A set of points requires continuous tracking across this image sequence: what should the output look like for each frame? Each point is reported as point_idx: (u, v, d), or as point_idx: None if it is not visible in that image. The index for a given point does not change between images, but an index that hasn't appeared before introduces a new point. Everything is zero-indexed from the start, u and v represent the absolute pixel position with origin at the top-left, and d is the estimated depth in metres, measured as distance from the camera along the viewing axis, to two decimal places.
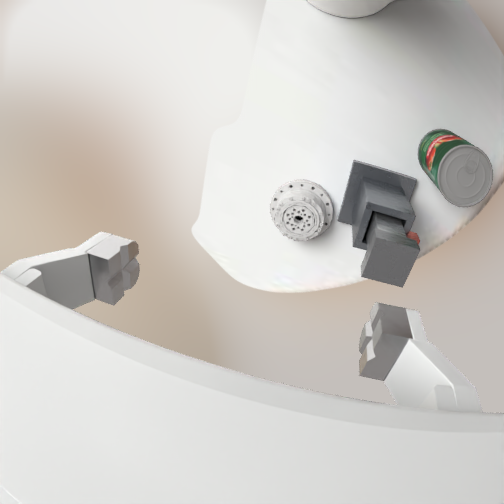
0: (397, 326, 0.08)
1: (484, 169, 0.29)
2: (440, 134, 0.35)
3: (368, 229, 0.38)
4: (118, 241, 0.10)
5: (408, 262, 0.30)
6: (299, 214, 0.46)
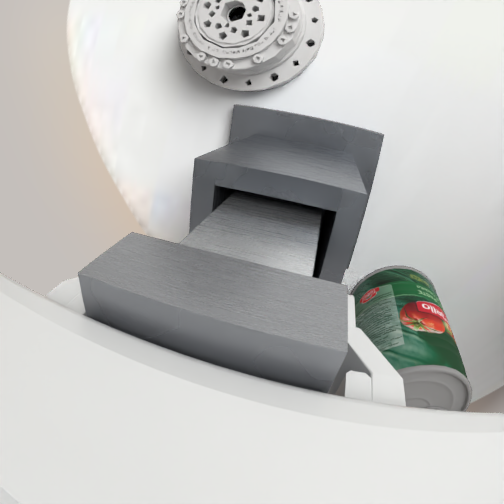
0: None
1: None
2: None
3: (258, 198, 0.13)
4: None
5: None
6: (249, 10, 0.14)
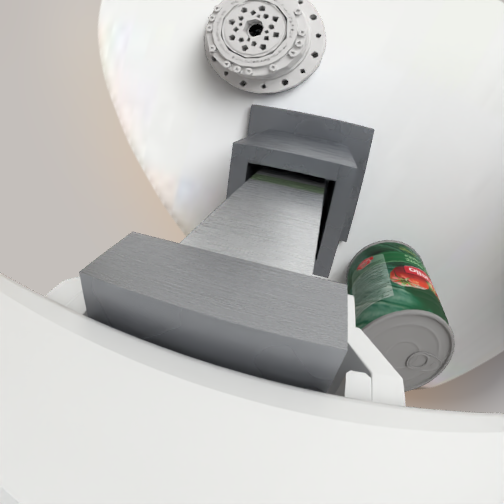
0: None
1: (409, 379, 0.20)
2: None
3: (258, 198, 0.13)
4: None
5: None
6: (266, 28, 0.18)
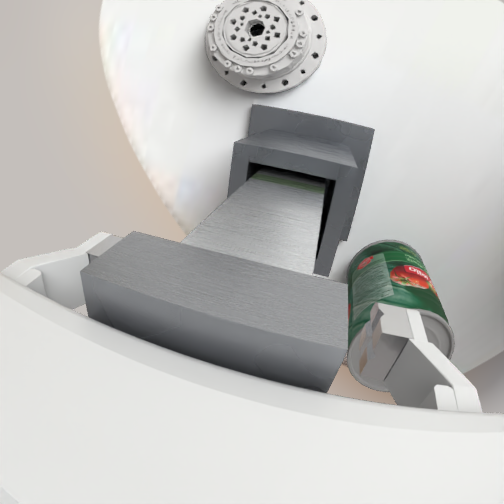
0: (397, 325, 0.08)
1: None
2: None
3: (258, 198, 0.13)
4: (118, 241, 0.10)
5: None
6: (267, 28, 0.18)
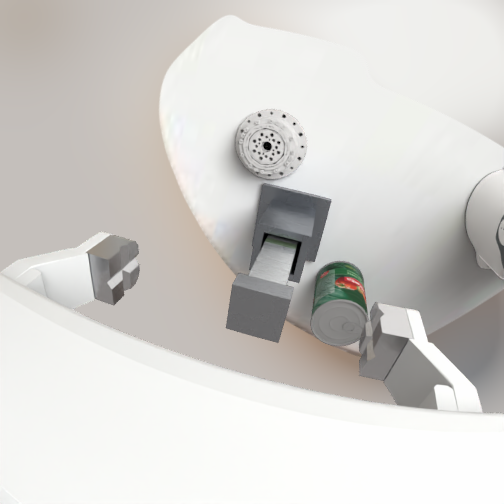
0: (397, 325, 0.08)
1: (346, 338, 0.41)
2: (363, 286, 0.45)
3: (269, 254, 0.34)
4: (118, 241, 0.10)
5: (260, 332, 0.28)
6: (273, 148, 0.39)
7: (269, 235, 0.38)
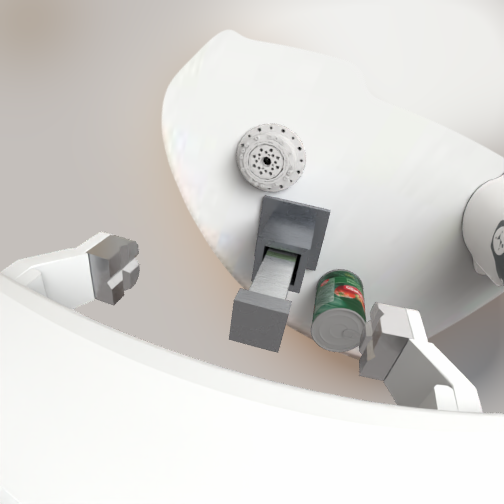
0: (397, 325, 0.08)
1: (345, 344, 0.43)
2: (362, 294, 0.47)
3: (269, 267, 0.35)
4: (118, 241, 0.10)
5: (261, 343, 0.30)
6: (272, 163, 0.41)
7: (270, 248, 0.39)
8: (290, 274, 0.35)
